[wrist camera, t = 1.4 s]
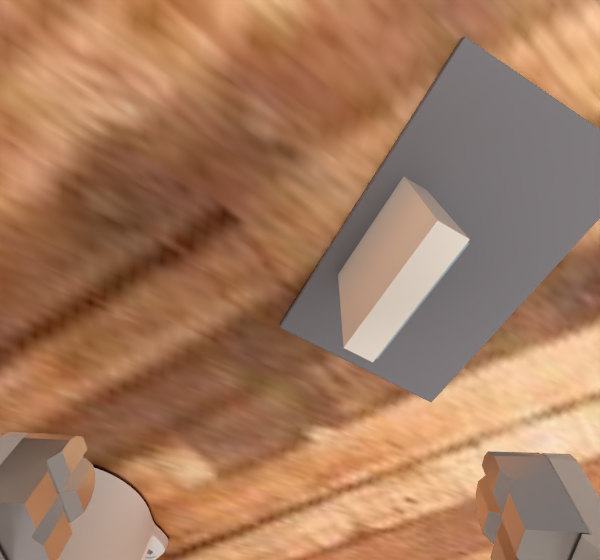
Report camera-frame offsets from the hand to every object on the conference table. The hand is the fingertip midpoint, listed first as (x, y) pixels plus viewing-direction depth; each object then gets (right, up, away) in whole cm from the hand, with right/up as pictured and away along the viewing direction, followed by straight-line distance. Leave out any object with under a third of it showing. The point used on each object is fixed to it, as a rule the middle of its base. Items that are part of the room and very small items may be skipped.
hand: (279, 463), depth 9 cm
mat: (+10, +6, +21) cm, 24 cm away
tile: (+6, +7, +20) cm, 22 cm away
